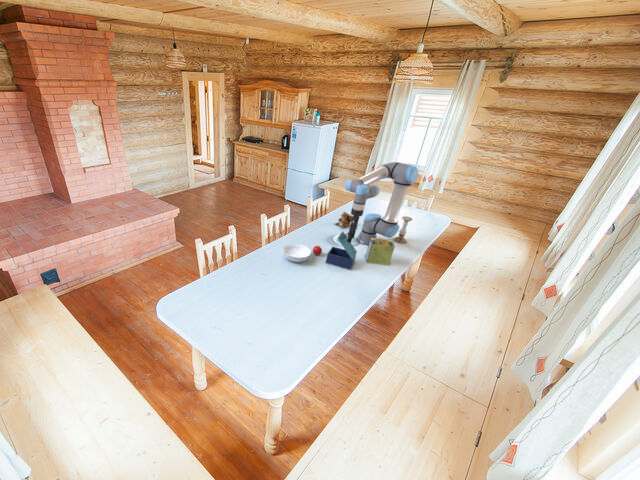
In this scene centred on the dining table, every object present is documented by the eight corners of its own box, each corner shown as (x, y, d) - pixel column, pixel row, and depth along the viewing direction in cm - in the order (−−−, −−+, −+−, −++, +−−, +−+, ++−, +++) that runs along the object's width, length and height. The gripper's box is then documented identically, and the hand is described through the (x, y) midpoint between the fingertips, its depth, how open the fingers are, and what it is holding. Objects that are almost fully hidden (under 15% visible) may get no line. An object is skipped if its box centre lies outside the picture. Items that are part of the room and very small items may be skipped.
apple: (313, 251, 244) (315, 242, 240) (322, 253, 242) (324, 244, 237) (310, 255, 239) (312, 246, 235) (319, 257, 236) (321, 248, 232)
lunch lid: (337, 238, 217) (347, 232, 212) (342, 231, 227) (352, 226, 221) (352, 259, 219) (362, 255, 214) (356, 252, 228) (366, 247, 223)
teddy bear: (334, 224, 289) (337, 211, 282) (346, 222, 294) (349, 208, 287) (341, 228, 281) (344, 215, 274) (353, 226, 286) (357, 212, 280)
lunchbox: (325, 262, 230) (327, 253, 226) (330, 255, 240) (332, 246, 236) (350, 269, 223) (352, 260, 219) (354, 261, 232) (356, 252, 228)
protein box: (389, 265, 230) (395, 246, 222) (367, 262, 232) (372, 243, 224) (386, 258, 238) (392, 239, 230) (365, 255, 241) (370, 237, 233)
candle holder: (403, 238, 268) (410, 216, 257) (407, 243, 260) (414, 220, 250) (392, 237, 268) (399, 215, 258) (396, 242, 261) (403, 219, 250)
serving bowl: (309, 267, 224) (311, 258, 221) (280, 263, 228) (281, 255, 224) (310, 253, 242) (311, 245, 238) (282, 250, 245) (283, 242, 241)
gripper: (355, 203, 217) (348, 233, 229) (348, 212, 202) (341, 244, 214) (366, 205, 213) (359, 235, 226) (360, 215, 199) (352, 247, 211)
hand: (350, 239), depth 220 cm, fingers closed on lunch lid, 7 cm apart
